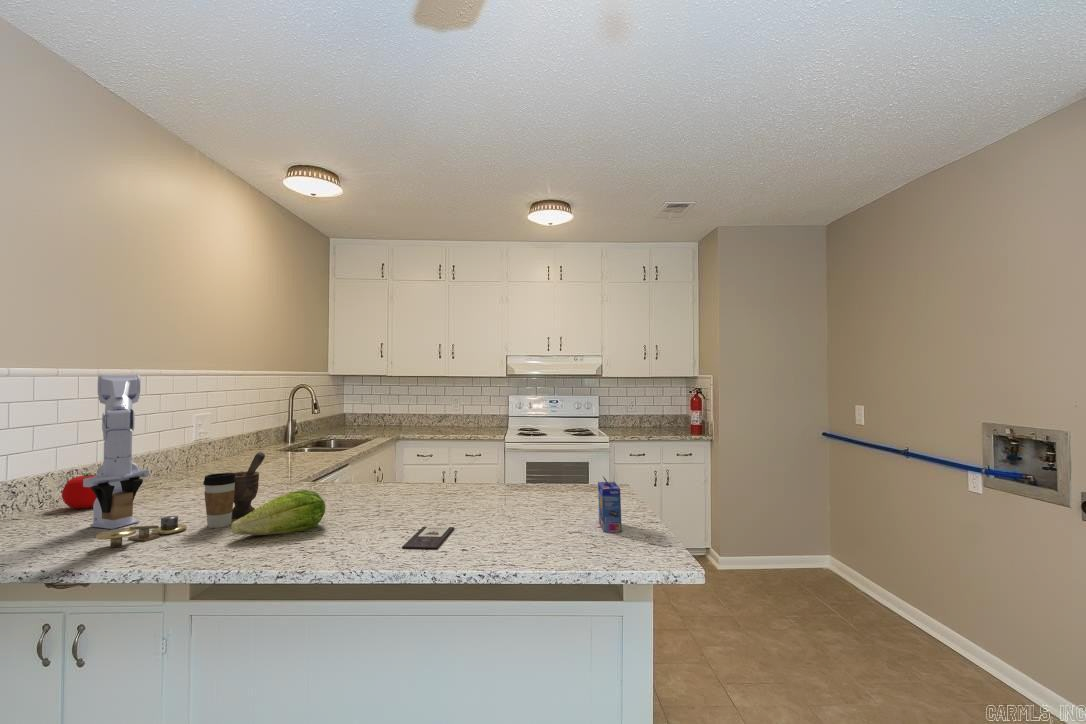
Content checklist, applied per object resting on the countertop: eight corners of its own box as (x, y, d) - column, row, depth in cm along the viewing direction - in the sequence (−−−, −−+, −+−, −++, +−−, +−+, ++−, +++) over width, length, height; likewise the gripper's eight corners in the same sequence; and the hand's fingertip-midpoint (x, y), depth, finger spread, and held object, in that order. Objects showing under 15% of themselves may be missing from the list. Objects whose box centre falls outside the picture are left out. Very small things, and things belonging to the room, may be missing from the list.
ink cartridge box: (597, 522, 159) (597, 473, 159) (615, 522, 159) (615, 473, 160) (602, 532, 149) (602, 480, 150) (622, 532, 149) (621, 480, 150)
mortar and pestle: (273, 511, 172) (273, 449, 173) (260, 518, 164) (261, 453, 164) (235, 512, 171) (236, 449, 172) (221, 519, 163) (222, 453, 163)
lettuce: (220, 517, 147) (231, 495, 140) (309, 496, 165) (323, 476, 158) (231, 558, 142) (243, 538, 135) (321, 532, 160) (336, 514, 153)
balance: (88, 549, 135) (88, 533, 135) (172, 526, 156) (172, 512, 156) (110, 552, 132) (110, 536, 132) (193, 528, 153) (193, 514, 153)
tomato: (51, 511, 173) (52, 476, 173) (92, 501, 186) (92, 469, 186) (82, 512, 171) (83, 478, 171) (121, 503, 184) (122, 470, 184)
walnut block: (101, 518, 136) (102, 494, 136) (120, 514, 140) (121, 491, 140) (113, 520, 135) (114, 496, 135) (132, 515, 139) (133, 492, 139)
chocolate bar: (401, 546, 135) (423, 526, 153) (401, 550, 135) (423, 529, 153) (436, 547, 135) (454, 527, 153) (436, 551, 135) (454, 530, 153)
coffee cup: (220, 530, 152) (221, 476, 152) (195, 528, 153) (195, 475, 154) (242, 522, 160) (243, 471, 160) (218, 520, 162) (219, 470, 162)
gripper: (97, 461, 130) (96, 518, 129) (157, 453, 144) (156, 504, 143) (77, 460, 132) (76, 515, 132) (138, 452, 146) (137, 502, 145)
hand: (116, 509), depth 138 cm, fingers closed on walnut block, 4 cm apart
